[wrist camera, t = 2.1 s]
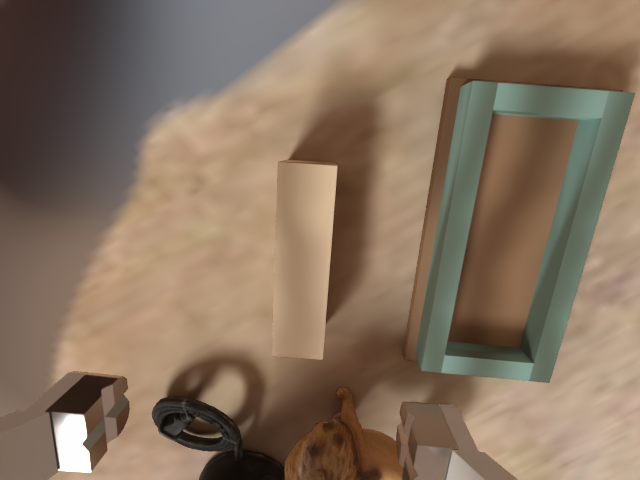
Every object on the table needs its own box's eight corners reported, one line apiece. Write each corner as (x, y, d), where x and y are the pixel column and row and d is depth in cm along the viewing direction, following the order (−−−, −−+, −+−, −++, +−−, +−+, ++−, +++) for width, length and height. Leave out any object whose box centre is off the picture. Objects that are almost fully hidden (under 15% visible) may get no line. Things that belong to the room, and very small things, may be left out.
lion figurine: (289, 425, 31) (272, 534, 22) (299, 375, 29) (284, 471, 21) (449, 454, 31) (494, 574, 22) (466, 406, 29) (522, 513, 21)
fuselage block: (336, 162, 25) (337, 165, 20) (324, 323, 28) (322, 359, 23) (288, 159, 25) (278, 161, 20) (282, 320, 28) (271, 355, 23)
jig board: (613, 92, 23) (650, 84, 20) (536, 366, 28) (557, 389, 25) (446, 79, 23) (461, 70, 20) (402, 354, 28) (410, 375, 26)
